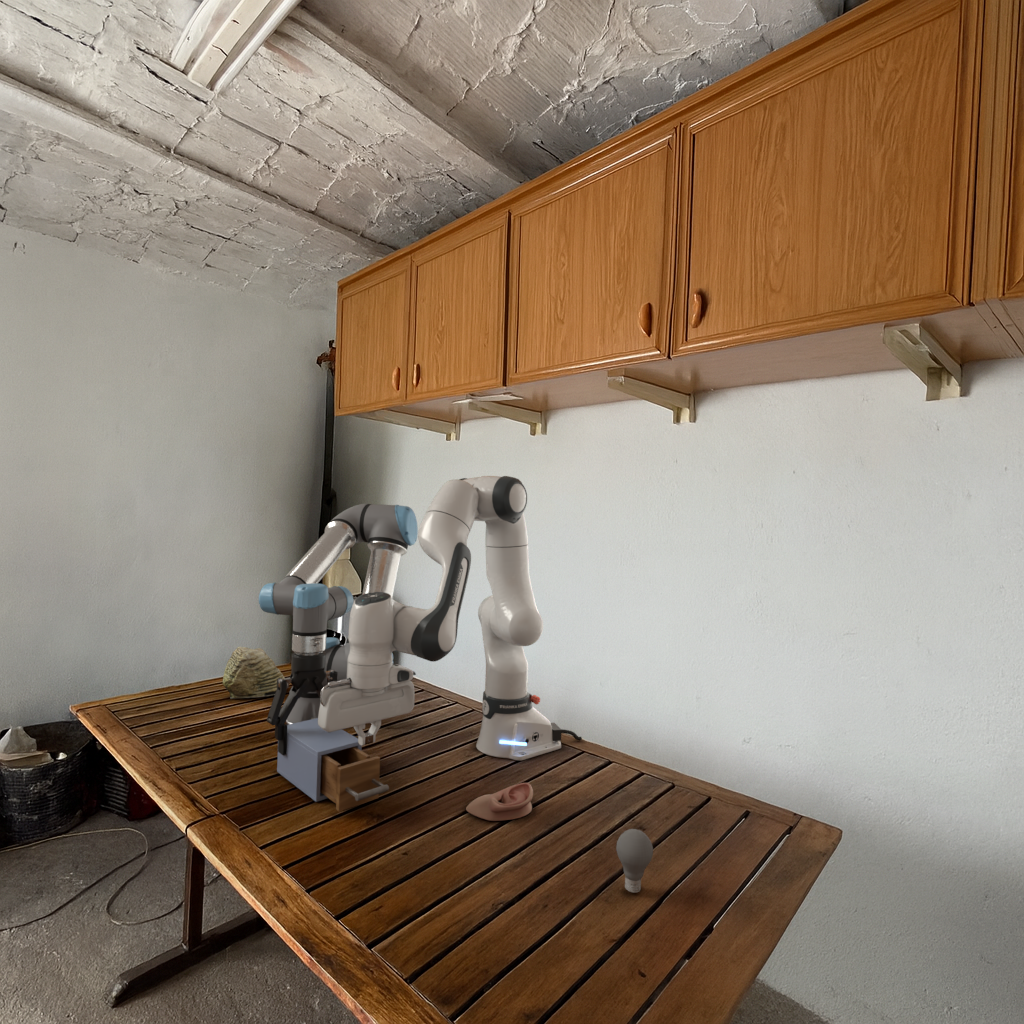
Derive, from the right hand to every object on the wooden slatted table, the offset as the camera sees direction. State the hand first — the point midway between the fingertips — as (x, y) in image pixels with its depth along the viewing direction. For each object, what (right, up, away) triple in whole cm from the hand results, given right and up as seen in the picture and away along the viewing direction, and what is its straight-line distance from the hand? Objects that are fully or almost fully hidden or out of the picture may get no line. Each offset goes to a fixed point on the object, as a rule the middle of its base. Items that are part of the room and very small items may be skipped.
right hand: (366, 743), depth 127 cm
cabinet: (-14, -14, +15) cm, 25 cm away
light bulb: (+49, -17, -21) cm, 56 cm away
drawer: (-6, -13, +6) cm, 16 cm away
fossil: (-51, -11, +71) cm, 89 cm away
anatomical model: (+27, -16, +5) cm, 31 cm away
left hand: (-19, -8, +19) cm, 28 cm away
